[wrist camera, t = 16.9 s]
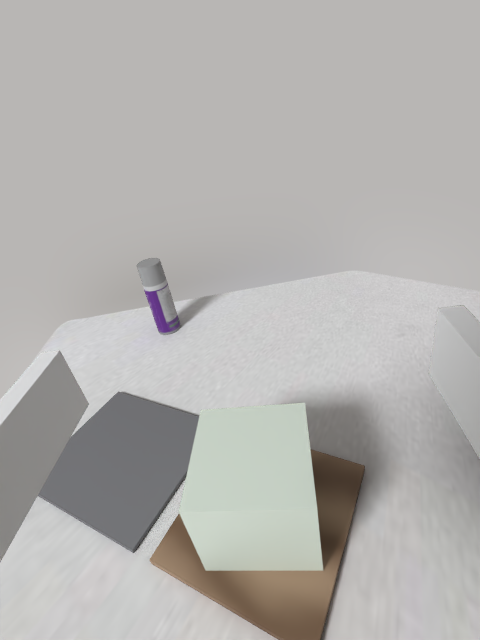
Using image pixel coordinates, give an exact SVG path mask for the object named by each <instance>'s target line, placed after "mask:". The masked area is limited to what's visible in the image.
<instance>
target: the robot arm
mask: <svg viewBox="0 0 480 640" xmlns="http://www.w3.org/2000/svg"><path fill="white" fill-rule="evenodd" d="M429 375H430V377H431V379H432V380H433V382H434V384H435V385H436V387H437V389H438V390H439V392H440V394H441V395H442V397H443V399H444V400H445V402H446V404H447V405H448V407H449V409H450V410H451V412H452V414H453V416H454V417H455V419H456V421H457V422H458V424H459V426H460V427H461V429H462V431H463V432H464V434H465V436H466V437H467V439H468V441H469V442H470V444H471V446H472V447H473V449H474V451H475V452H476V454H477V456H478V457H479V459H480V322H479V321H478V320H477V319H476V318H475V316H474V315H473V314H472V313H471V312H470V311H469V310H468V309H467V308H466V307H465V306H464V305H459V306H451V307H442V308H438V310H437V317H436V324H435V331H434V338H433V345H432V353H431V360H430V367H429ZM88 405H89V403H88V401H87V400H86V398H85V396H84V394H83V392H82V390H81V388H80V387H79V385H78V383H77V381H76V379H75V377H74V376H73V374H72V372H71V370H70V368H69V366H68V364H67V363H66V361H65V359H64V357H63V355H62V353H61V352H60V350H59V351H50V352H41V353H40V354H39V355H38V356H37V358H36V359H35V360H34V361H33V362H32V363H31V365H30V366H29V367H28V368H27V369H26V370H25V372H24V373H23V374H22V375H21V376H20V377H19V379H18V380H17V381H16V382H15V383H14V385H13V386H12V387H11V388H10V389H9V390H8V391H7V392H6V394H5V395H4V396H3V397H2V398H1V400H0V562H1V560H2V558H3V556H4V555H5V553H6V551H7V549H8V547H9V546H10V544H11V542H12V540H13V539H14V537H15V535H16V533H17V531H18V530H19V528H20V526H21V524H22V522H23V521H24V519H25V517H26V515H27V514H28V512H29V510H30V508H31V506H32V505H33V503H34V501H35V499H36V498H37V496H38V494H39V492H40V490H41V489H42V487H43V485H44V483H45V481H46V480H47V478H48V476H49V474H50V473H51V471H52V469H53V467H54V465H55V464H56V462H57V460H58V458H59V457H60V455H61V453H62V451H63V449H64V448H65V446H66V444H67V442H68V441H69V439H70V437H71V435H72V433H73V432H74V430H75V428H76V426H77V424H78V423H79V421H80V419H81V417H82V416H83V414H84V412H85V410H86V408H87V407H88Z"/></svg>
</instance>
